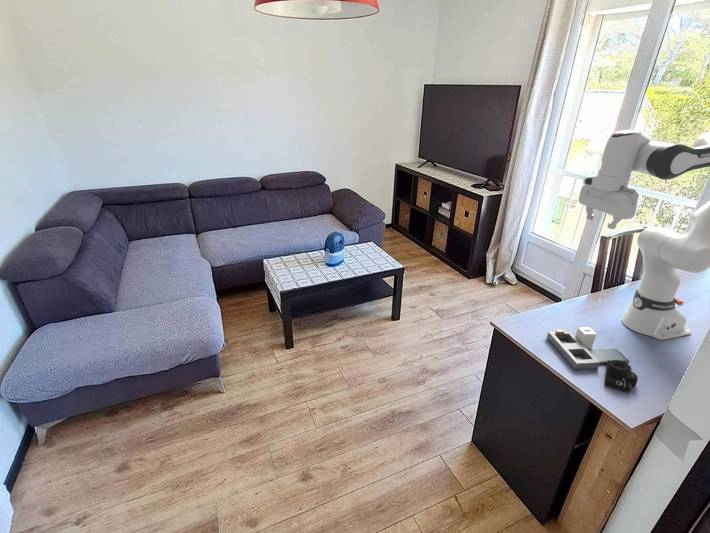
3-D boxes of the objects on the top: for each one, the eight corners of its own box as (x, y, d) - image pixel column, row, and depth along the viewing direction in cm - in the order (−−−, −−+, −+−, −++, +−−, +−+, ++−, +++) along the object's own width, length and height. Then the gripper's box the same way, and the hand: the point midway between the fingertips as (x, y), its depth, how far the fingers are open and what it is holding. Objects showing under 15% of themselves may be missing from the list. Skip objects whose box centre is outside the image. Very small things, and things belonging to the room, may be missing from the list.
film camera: (607, 348, 125) (643, 355, 117) (608, 367, 127) (644, 375, 120) (593, 368, 117) (631, 377, 110) (594, 387, 119) (631, 398, 112)
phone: (615, 351, 132) (616, 348, 131) (628, 363, 126) (629, 360, 126) (580, 352, 131) (581, 350, 131) (592, 364, 126) (592, 362, 125)
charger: (584, 341, 137) (589, 326, 134) (591, 348, 134) (596, 333, 131) (573, 341, 137) (578, 326, 134) (580, 348, 133) (585, 333, 130)
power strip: (567, 337, 140) (569, 329, 138) (597, 369, 124) (600, 360, 122) (546, 338, 139) (548, 330, 138) (574, 370, 123) (577, 361, 122)
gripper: (648, 190, 110) (634, 233, 116) (596, 176, 128) (586, 214, 134) (630, 191, 109) (616, 235, 115) (580, 177, 127) (570, 215, 133)
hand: (599, 223), depth 124 cm, fingers open, 8 cm apart
